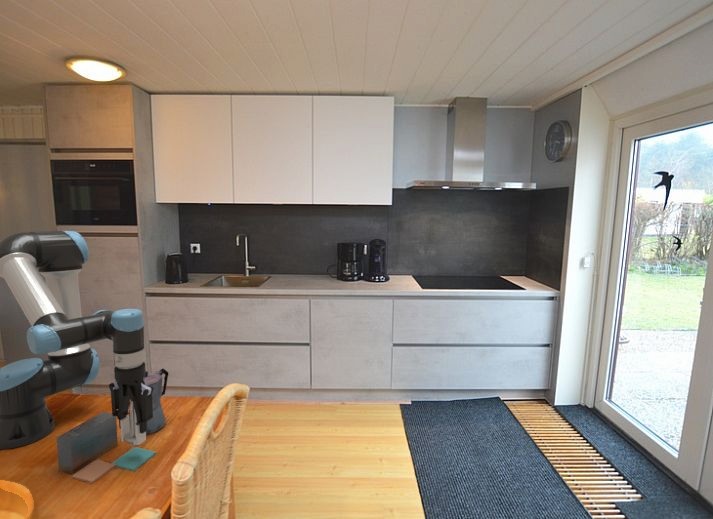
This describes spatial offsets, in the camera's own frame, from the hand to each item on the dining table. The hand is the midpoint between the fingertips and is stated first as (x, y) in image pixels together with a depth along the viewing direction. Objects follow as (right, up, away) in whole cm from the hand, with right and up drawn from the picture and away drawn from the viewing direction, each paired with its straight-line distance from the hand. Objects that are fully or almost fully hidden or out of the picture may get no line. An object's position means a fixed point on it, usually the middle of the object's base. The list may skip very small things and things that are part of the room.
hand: (133, 440), depth 107 cm
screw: (0, -1, 0) cm, 1 cm away
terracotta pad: (-8, -6, -5) cm, 11 cm away
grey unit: (-14, -5, +1) cm, 15 cm away
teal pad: (0, -6, +1) cm, 6 cm away
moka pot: (-5, -4, +17) cm, 18 cm away
